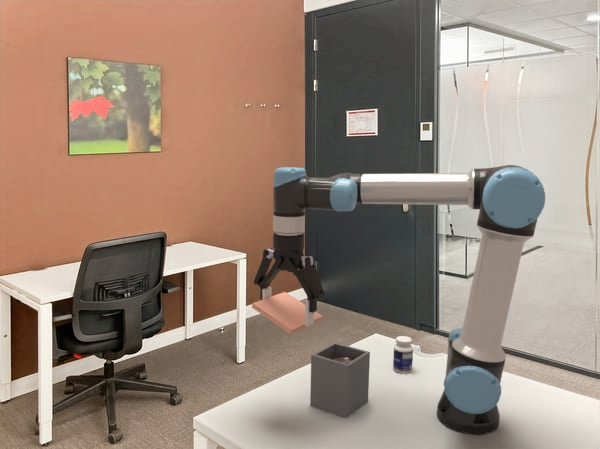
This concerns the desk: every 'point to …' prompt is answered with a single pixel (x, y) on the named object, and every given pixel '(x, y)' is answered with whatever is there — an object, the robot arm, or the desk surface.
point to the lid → (284, 312)
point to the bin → (339, 379)
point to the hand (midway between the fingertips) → (287, 319)
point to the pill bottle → (403, 355)
